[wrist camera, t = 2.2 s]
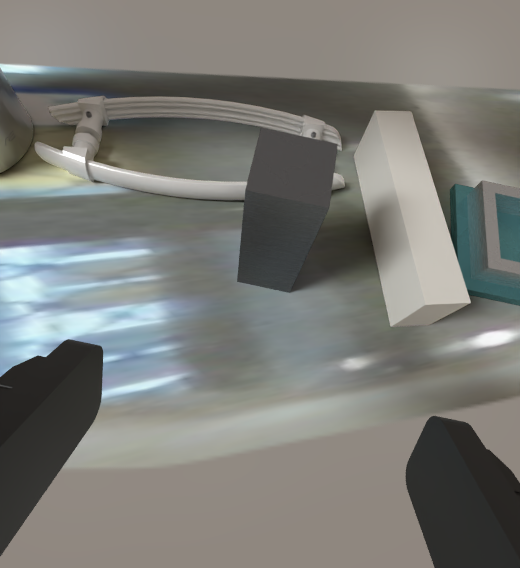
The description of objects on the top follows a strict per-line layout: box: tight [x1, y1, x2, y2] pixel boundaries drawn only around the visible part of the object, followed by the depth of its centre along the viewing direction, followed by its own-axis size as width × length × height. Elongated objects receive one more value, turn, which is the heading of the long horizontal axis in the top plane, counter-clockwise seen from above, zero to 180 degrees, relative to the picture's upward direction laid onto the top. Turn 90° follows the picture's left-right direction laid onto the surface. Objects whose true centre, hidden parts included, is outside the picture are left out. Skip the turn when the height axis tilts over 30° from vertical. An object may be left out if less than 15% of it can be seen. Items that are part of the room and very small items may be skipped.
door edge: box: [354, 110, 471, 327], centre depth 27 cm, size 16×3×5 cm, turn 4°
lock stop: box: [237, 127, 338, 293], centre depth 23 cm, size 4×4×11 cm
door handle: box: [35, 96, 345, 200], centre depth 30 cm, size 3×10×25 cm
